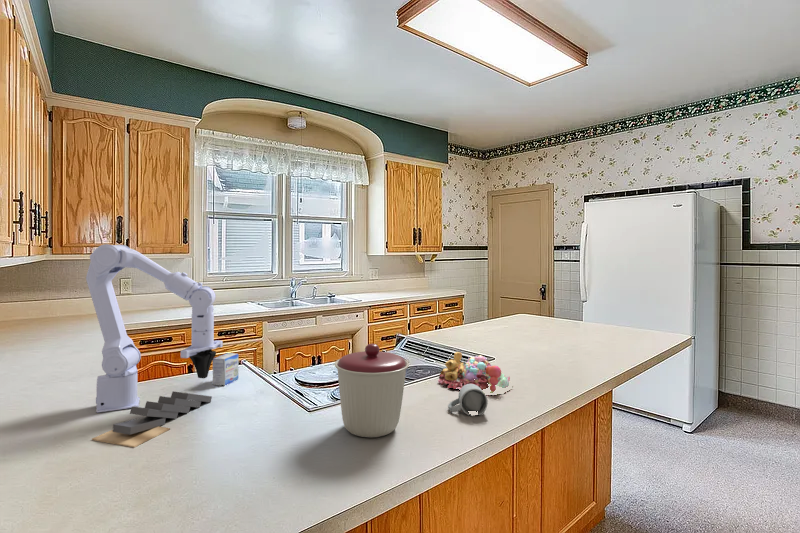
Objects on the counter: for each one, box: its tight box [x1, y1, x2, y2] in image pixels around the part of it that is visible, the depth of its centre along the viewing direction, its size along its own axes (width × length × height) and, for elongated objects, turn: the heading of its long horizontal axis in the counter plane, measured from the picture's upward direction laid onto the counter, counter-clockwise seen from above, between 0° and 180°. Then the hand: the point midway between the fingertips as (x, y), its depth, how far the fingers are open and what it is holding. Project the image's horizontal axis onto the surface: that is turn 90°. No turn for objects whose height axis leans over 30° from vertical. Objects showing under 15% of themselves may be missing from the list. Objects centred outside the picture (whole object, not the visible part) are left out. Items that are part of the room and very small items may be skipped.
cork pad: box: [91, 426, 171, 448], centre depth 101 cm, size 10×12×1 cm
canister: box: [334, 343, 410, 438], centre depth 106 cm, size 18×18×21 cm
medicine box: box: [212, 352, 239, 387], centre depth 141 cm, size 8×4×9 cm, turn 168°
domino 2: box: [129, 406, 179, 419], centre depth 107 cm, size 2×5×10 cm
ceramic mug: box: [447, 384, 489, 416], centre depth 120 cm, size 10×8×7 cm
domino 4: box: [157, 395, 202, 409], centre depth 115 cm, size 2×5×10 cm
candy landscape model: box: [437, 351, 511, 393], centre depth 146 cm, size 25×24×9 cm
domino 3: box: [144, 400, 191, 414], centre depth 111 cm, size 2×5×10 cm
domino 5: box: [170, 391, 213, 403], centre depth 119 cm, size 2×5×10 cm
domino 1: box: [112, 416, 167, 435], centre depth 103 cm, size 2×5×10 cm
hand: (202, 377), depth 123 cm, fingers closed
